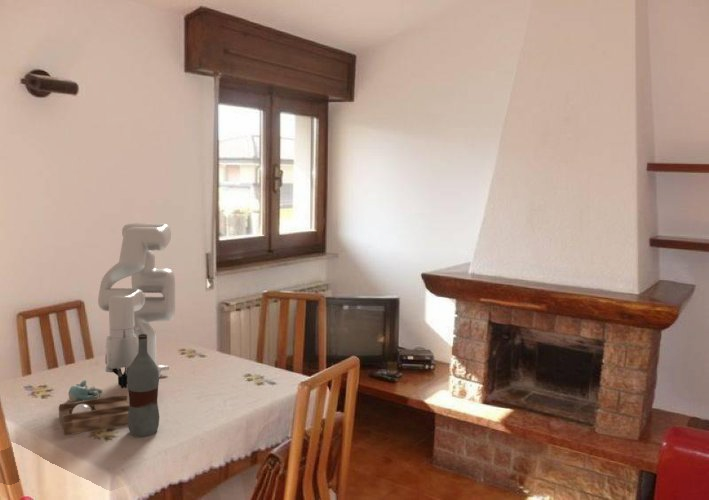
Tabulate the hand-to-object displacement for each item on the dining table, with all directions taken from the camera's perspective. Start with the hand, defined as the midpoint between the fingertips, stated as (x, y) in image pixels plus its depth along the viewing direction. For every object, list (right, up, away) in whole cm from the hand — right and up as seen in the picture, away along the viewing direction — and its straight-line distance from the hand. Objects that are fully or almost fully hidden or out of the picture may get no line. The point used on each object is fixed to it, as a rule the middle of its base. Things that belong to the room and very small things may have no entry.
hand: (123, 386), depth 193 cm
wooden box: (-7, -10, -4) cm, 13 cm away
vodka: (+11, -11, -12) cm, 20 cm away
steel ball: (-10, -7, -7) cm, 14 cm away
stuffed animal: (-18, -8, +14) cm, 24 cm away
